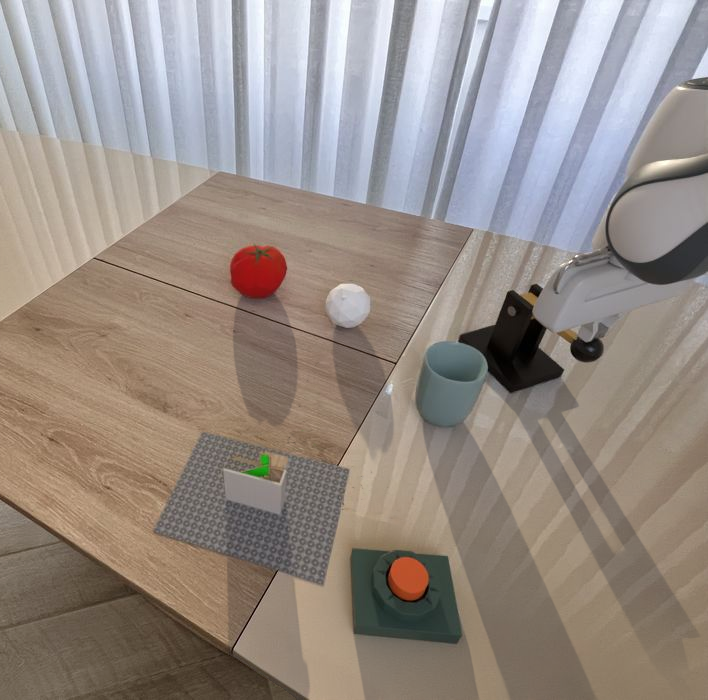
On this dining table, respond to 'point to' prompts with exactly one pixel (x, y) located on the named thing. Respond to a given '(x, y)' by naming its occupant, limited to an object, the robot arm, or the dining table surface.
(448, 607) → the dimmer block
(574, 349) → the lever with ball knob
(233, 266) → the tomato
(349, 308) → the ornament
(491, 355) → the lever base
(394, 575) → the button
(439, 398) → the cup
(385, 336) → the dining table surface
